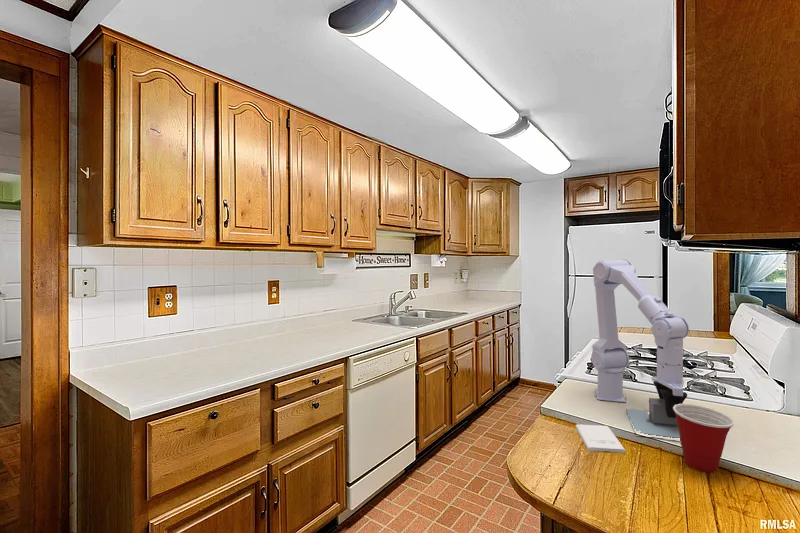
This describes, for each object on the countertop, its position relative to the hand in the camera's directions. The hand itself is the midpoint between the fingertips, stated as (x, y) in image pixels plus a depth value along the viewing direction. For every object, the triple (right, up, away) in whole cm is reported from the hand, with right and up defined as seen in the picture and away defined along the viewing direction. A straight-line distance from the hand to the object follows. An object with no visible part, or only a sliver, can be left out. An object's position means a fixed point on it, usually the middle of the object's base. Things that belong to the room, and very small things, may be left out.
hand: (669, 413), depth 106 cm
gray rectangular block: (-1, -2, 0) cm, 2 cm away
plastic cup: (-5, -5, -18) cm, 20 cm away
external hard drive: (-21, -6, -5) cm, 23 cm away
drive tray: (0, -4, 0) cm, 4 cm away
